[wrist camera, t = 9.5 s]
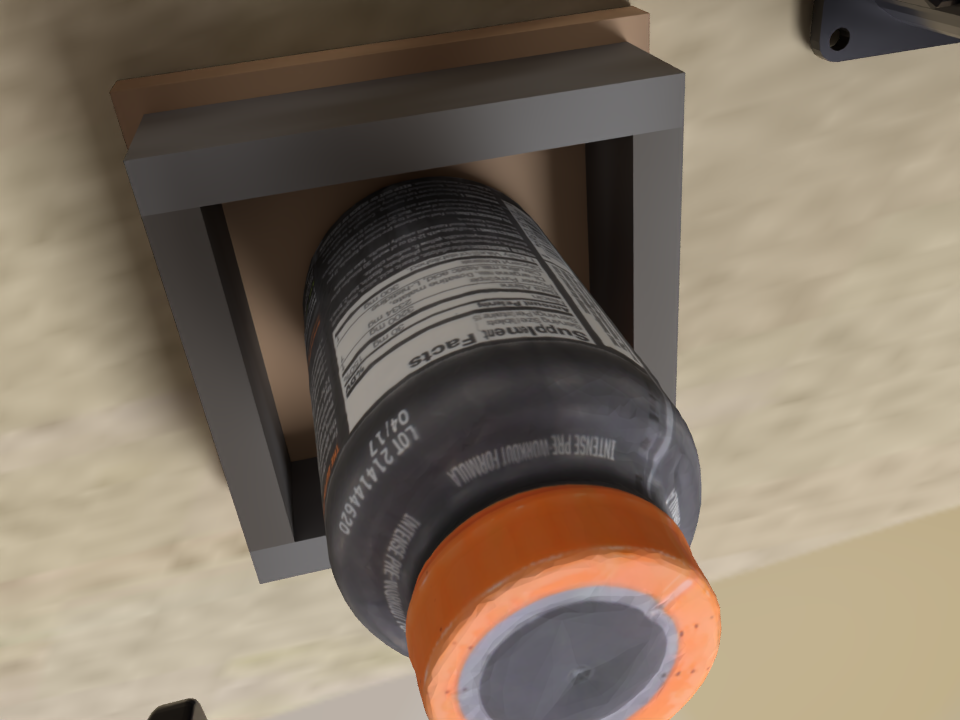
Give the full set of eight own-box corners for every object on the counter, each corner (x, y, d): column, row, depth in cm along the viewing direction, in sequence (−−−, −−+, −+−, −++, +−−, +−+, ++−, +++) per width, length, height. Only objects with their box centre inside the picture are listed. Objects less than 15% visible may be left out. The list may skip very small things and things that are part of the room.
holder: (632, 6, 19) (712, 40, 16) (633, 413, 25) (691, 502, 21) (116, 80, 18) (82, 135, 14) (245, 495, 23) (243, 604, 20)
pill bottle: (497, 420, 23) (667, 837, 13) (271, 371, 20) (278, 825, 11) (592, 212, 20) (887, 538, 11) (347, 132, 18) (441, 450, 9)
